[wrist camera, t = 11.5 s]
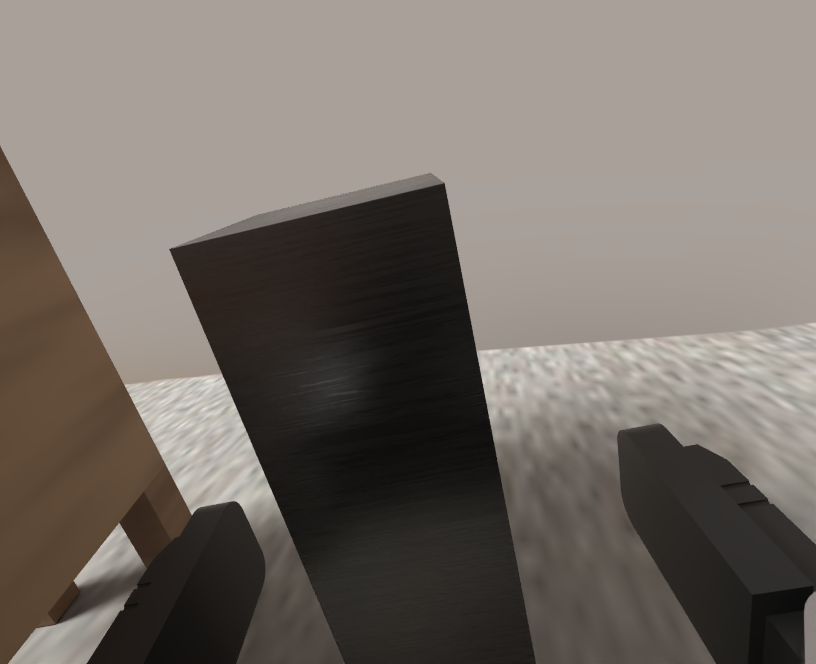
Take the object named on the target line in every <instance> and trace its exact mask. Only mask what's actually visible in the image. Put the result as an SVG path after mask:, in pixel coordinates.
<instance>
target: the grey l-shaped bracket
mask: <svg viewBox="0 0 816 664" xmlns="http://www.w3.org/2000/svg"><path fill="white" fill-rule="evenodd" d="M169 250H170V252H171V254H172V256H173V259H174V261H175V264H176V266H177V269H178V271H179V273H180V276H181V278H182V280H183V283H184V285H185V287H186V290H187V292H188V294H189V297H190V299H191V301H192V304H193V306H194V309H195V311H196V313H197V316H198V318H199V320H200V323H201V325H202V327H203V330H204V332H205V334H206V337H207V339H208V342H209V344H210V346H211V349H212V351H213V353H214V356H215V358H216V360H217V363H218V365H219V367H220V370H221V372H222V375H223V377H224V379H225V382H226V384H227V386H228V389H229V391H230V393H231V396H232V398H233V400H234V403H235V405H236V408H237V410H238V412H239V415H240V417H241V419H242V422H243V424H244V426H245V429H246V431H247V433H248V436H249V438H250V441H251V443H252V445H253V448H254V450H255V452H256V455H257V457H258V459H259V462H260V464H261V466H262V469H263V471H264V474H265V476H266V478H267V481H268V483H269V485H270V488H271V490H272V492H273V495H274V497H275V499H276V502H277V504H278V507H279V509H280V511H281V514H282V516H283V518H284V521H285V523H286V525H287V528H288V530H289V532H290V535H291V537H292V539H293V542H294V544H295V547H296V549H297V551H298V554H299V556H300V558H301V561H302V563H303V565H304V568H305V570H306V572H307V575H308V577H309V580H310V582H311V584H312V587H313V589H314V591H315V594H316V596H317V598H318V601H319V603H320V605H321V608H322V610H323V613H324V615H325V617H326V620H327V622H328V624H329V627H330V629H331V631H332V634H333V636H334V638H335V641H336V643H337V646H338V648H339V650H340V653H341V655H342V657H343V660H344V662H345V664H536V662H535V657H534V651H533V646H532V641H531V636H530V630H529V625H528V620H527V615H526V609H525V604H524V599H523V594H522V588H521V583H520V578H519V573H518V567H517V562H516V557H515V551H514V546H513V541H512V536H511V530H510V525H509V520H508V515H507V509H506V504H505V499H504V494H503V488H502V483H501V478H500V473H499V467H498V462H497V457H496V451H495V446H494V441H493V436H492V430H491V425H490V420H489V415H488V409H487V404H486V399H485V394H484V388H483V383H482V378H481V373H480V367H479V362H478V357H477V351H476V346H475V341H474V336H473V330H472V325H471V320H470V315H469V310H468V304H467V299H466V294H465V288H464V283H463V278H462V272H461V267H460V262H459V257H458V252H457V246H456V241H455V237H454V230H453V225H452V220H451V215H450V209H449V204H448V199H447V194H446V189H445V183H444V182H442V181H441V180H440V179H438V178H437V177H435V176H434V175H433V174H431V173H428V174H424V175H420V176H416V177H412V178H408V179H404V180H399V181H395V182H391V183H387V184H383V185H379V186H375V187H371V188H366V189H363V190H358V191H355V192H350V193H346V194H342V195H338V196H333V197H330V198H325V199H322V200H317V201H313V202H309V203H305V204H300V205H296V206H292V207H288V208H284V209H280V210H276V211H272V212H267V213H263V214H259V215H256V216H253V217H251V218H248V219H246V220H243V221H240V222H238V223H235V224H233V225H230V226H227V227H225V228H222V229H220V230H217V231H215V232H212V233H210V234H207V235H205V236H202V237H199V238H197V239H194V240H192V241H189V242H187V243H184V244H181V245H179V246H176V247H173V248H171V249H169Z"/></svg>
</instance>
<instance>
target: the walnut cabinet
mask: <svg viewBox="0 0 816 664" xmlns="http://www.w3.org/2000/svg"><path fill="white" fill-rule="evenodd" d="M191 517H192V515H191V513H190V511H189V509H188V507H187V505H186V503H185V501H184V499H183V497H182V496H181V494H180V492H179V490H178V488H177V486H176V484H175V482H174V480H173V478H172V476H171V474H170V472H169V471H168V469H167V467H166V465H165V463H164V461H163V459H162V457H161V455H160V453H159V451H158V449H157V447H156V445H155V444H154V442H153V440H152V438H151V436H150V434H149V432H148V430H147V428H146V426H145V424H144V422H143V420H142V418H141V417H140V415H139V413H138V411H137V409H136V407H135V405H134V403H133V401H132V399H131V397H130V395H129V393H128V392H127V390H126V388H125V386H124V384H123V382H122V380H121V378H120V376H119V374H118V372H117V370H116V368H115V367H114V365H113V363H112V361H111V359H110V357H109V355H108V353H107V351H106V349H105V347H104V345H103V343H102V341H101V339H100V338H99V336H98V334H97V332H96V330H95V328H94V326H93V324H92V322H91V320H90V319H89V316H88V314H87V313H86V311H85V309H84V307H83V305H82V303H81V301H80V299H79V297H78V295H77V293H76V291H75V290H74V288H73V286H72V284H71V282H70V280H69V278H68V276H67V274H66V272H65V270H64V268H63V266H62V264H61V262H60V261H59V259H58V257H57V255H56V253H55V251H54V249H53V247H52V245H51V243H50V241H49V239H48V238H47V235H46V234H45V232H44V230H43V228H42V226H41V224H40V222H39V220H38V218H37V216H36V214H35V213H34V211H33V208H32V207H31V205H30V203H29V201H28V199H27V197H26V195H25V193H24V191H23V189H22V187H21V185H20V183H19V181H18V180H17V178H16V176H15V174H14V172H13V170H12V168H11V166H10V164H9V162H8V160H7V159H6V157H5V155H4V153H3V151H2V149H1V147H0V664H8V663H9V661H10V660H11V659H12V658H13V656H14V655H15V654H16V653H17V651H18V650H19V649H20V647H21V646H22V645H23V644H24V642H25V641H26V640H27V639H28V637H29V636H30V635H31V634H32V632H33V631H34V630H35V629H36V627H41V626H47V625H53V624H56V623H57V621H58V620H59V619H60V617H61V616H62V615H63V613H64V612H65V611H66V610H67V608H68V607H69V606H70V604H71V603H72V602H73V600H74V599H75V598H76V596H77V595H78V594H79V592H80V590H79V588H78V587H77V586H76V584H75V583H74V581H73V580H74V579H75V578H76V577H77V575H78V574H79V573H80V572H81V570H82V569H83V568H84V566H85V565H86V564H87V563H88V561H89V560H90V559H91V558H92V556H93V555H94V554H95V553H96V551H97V550H98V549H99V548H100V546H101V545H102V544H103V542H104V541H105V540H106V539H107V537H108V536H109V535H110V534H111V532H112V531H113V530H114V529H115V527H116V526H117V525H118V523H120V524H121V526H122V528H123V529H124V531H125V533H126V534H127V536H128V538H129V539H130V541H131V543H132V544H133V546H134V548H135V550H136V551H137V553H138V555H139V556H140V558H141V560H142V561H143V563H144V565H145V566H146V568H148V567H149V565H150V564H151V562H152V560H153V559H154V558H155V557H156V556H157V555H158V554H159V553H160V552H161V551H162V550H163V549H164V548H165V547H166V546H167V545H168V544H169V543H170V542H171V541H172V540H173V539H174V538H175V537H179V536H180V535H181V533H182V531H183V530H184V528H185V526H186V525H187V523H188V522H189V520H190V518H191Z"/></svg>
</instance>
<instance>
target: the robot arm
mask: <svg viewBox="0 0 816 664" xmlns="http://www.w3.org/2000/svg"><path fill="white" fill-rule="evenodd" d="M618 454H619V468H620V482H621V493H622V498H623V502H624V506H625V509H626V512H627V514H628V516H629V519H630V521H631V523H632V525H633V526H634V528H635V530H636V531H637V533H638V535H639V536H640V538H641V540H642V541H643V543H644V545H645V546H646V548H647V549H648V551H649V553H650V554H651V556H652V558H653V559H654V561H655V563H656V564H657V566H658V568H659V569H660V571H661V573H662V574H663V576H664V578H665V579H666V581H667V583H668V584H669V586H670V588H671V589H672V591H673V593H674V594H675V596H676V598H677V599H678V601H679V603H680V604H681V606H682V607H683V609H684V611H685V612H686V614H687V616H688V617H689V619H690V621H691V622H692V624H693V626H694V627H695V629H696V631H697V632H698V634H699V636H700V637H701V639H702V641H703V642H704V644H705V646H706V647H707V649H708V651H709V652H710V654H711V656H712V657H713V659H714V661H715V662H716V664H816V545H815V544H814V543H813V542H812V541H811V540H810V539H809V538H808V537H807V536H806V535H805V534H804V533H803V532H802V531H801V530H800V529H799V528H798V527H797V526H796V525H795V524H794V523H793V522H791V521H790V520H789V519H788V518H787V517H786V516H785V515H784V514H783V513H782V512H781V511H780V510H779V509H778V508H777V507H776V506H775V505H774V504H770V503H769V501H768V499H767V498H766V497H765V496H764V495H763V494H762V493H761V492H760V491H759V490H758V489H757V488H756V487H755V486H754V485H750V483H749V480H748V479H747V478H746V477H744V476H743V475H742V474H741V473H740V472H739V471H738V470H737V469H736V468H735V467H734V466H733V465H732V464H731V463H730V462H729V461H728V460H727V459H725V458H723V457H721V456H719V455H717V454H715V453H713V452H711V451H709V450H707V449H705V448H703V447H702V446H700V445H698V444H697V445H691V446H686V447H683V446H682V445H681V444H680V443H679V442H678V441H677V439H676V438H675V437H674V436H673V435H672V434H671V433H670V432H669V431H668V430H667V429H666V428H665V427H664V426H663V425H661V424H653V425H647V426H642V427H637V428H631V429H626V430H620V431H619V433H618ZM264 578H265V560H264V556H263V552H262V550H261V548H260V546H259V544H258V541H257V539H256V537H255V535H254V533H253V531H252V528H251V526H250V524H249V522H248V520H247V518H246V515H245V513H244V511H243V509H242V507H241V506H240V504H239V503H237V502H235V501H232V502H227V503H221V504H216V505H210V506H205V507H200V508H198V509H197V510H196V511H195V512H194V513H193V515H192V517H191V518H190V520H189V522H188V523H187V525H186V526H185V528H184V530H183V531H182V533H181V535H180V536H179V537H175V538H174V539H173V540H172V541H171V542H170V543H169V544H168V545H167V546H166V547H165V548H164V549H163V550H162V551H161V552H160V553H159V554H158V555H157V556H156V557H155V558H154V559H153V560H152V562H151V564H150V565H149V567H148V568H147V570H146V571H145V573H144V575H143V576H142V578H141V579H140V581H139V582H138V584H137V585H138V587H137V589H134V590H133V592H132V593H131V595H130V597H129V598H128V600H127V601H126V603H125V604H124V610H123V611H120V612H119V614H118V615H117V617H116V619H115V620H114V622H113V623H112V625H111V626H110V628H109V630H108V631H107V633H106V634H105V636H104V637H103V639H102V641H101V642H100V644H99V645H98V647H97V648H96V650H95V652H94V653H93V655H92V656H91V658H90V659H89V661H88V663H87V664H236V663H237V660H238V657H239V654H240V651H241V648H242V645H243V642H244V639H245V636H246V633H247V631H248V628H249V625H250V622H251V619H252V616H253V613H254V610H255V607H256V604H257V601H258V598H259V595H260V593H261V590H262V587H263V583H264Z"/></svg>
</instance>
